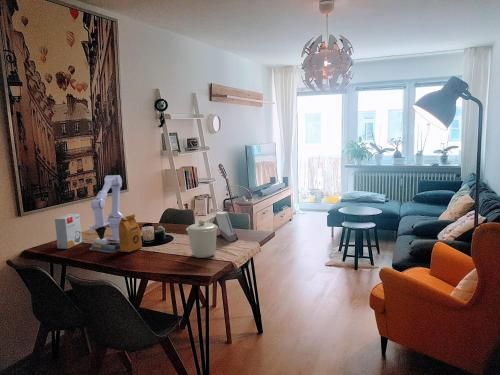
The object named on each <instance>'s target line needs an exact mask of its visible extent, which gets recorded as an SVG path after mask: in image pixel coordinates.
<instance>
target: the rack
mask: <svg viewBox="0 0 500 375" xmlns="http://www.w3.org/2000/svg"><path fill="white" fill-rule="evenodd" d="M107 242H108V243H106V244H98V243H96V241H95V242H92V243H91V247H90V248H89V249H88V250H89V251H94V252H102V253H108V254H114V253H116V252H120V243H119V242H117V241H111V240H110V241H109V240H107Z"/></svg>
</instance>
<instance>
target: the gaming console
mask: <svg viewBox="0 0 500 375" xmlns="http://www.w3.org/2000/svg"><path fill="white" fill-rule="evenodd" d="M214 214H215V218H216V222H217V224H218V225H217V226H218V230H219V233H220V235H221V236H222V237H223V238H224V239H225V240H226V241H227V242H229V243H231V242H234V241H237V239H239V236H238V235H237V232H235V230H234V229H233V226H232V222H231V219H230V216H229V213H228V212H227V211H217V212H214Z"/></svg>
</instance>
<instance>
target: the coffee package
mask: <svg viewBox="0 0 500 375" xmlns="http://www.w3.org/2000/svg"><path fill="white" fill-rule="evenodd" d="M135 217H136V215H135V214H134V213H133V214H130V215H126V216H123V218H121V220H120V224H119V240H118V241H119V242H118V243H120V250H119V252H121V253H122V252H125V253H130V252H134V251H137V250H139V249H142V247H143V242H142V241H143V240H142V231H141V228H140V227H139V224H138V222H137V221H136V218H135Z"/></svg>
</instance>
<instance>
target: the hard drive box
mask: <svg viewBox="0 0 500 375" xmlns="http://www.w3.org/2000/svg"><path fill="white" fill-rule="evenodd" d="M80 217H81V216H80V213H68V214H66V215H65V214H64V215H62V216H59V217H57V218H54V224H55V234H56V242H57V249H64V250H65V249H70V248H73V247H74V246H76V245H79V244H81V243H83V235H82V228H81V218H80Z"/></svg>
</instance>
